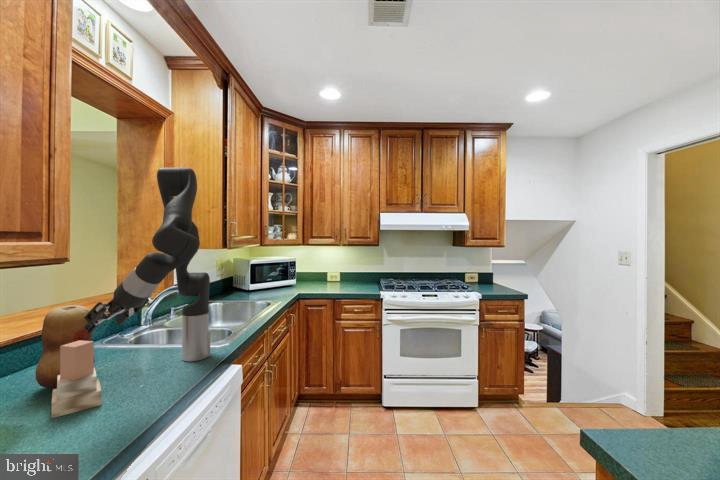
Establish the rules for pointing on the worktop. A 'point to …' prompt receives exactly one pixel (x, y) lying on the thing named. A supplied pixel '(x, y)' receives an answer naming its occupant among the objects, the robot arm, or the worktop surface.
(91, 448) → the worktop surface
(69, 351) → the salmon pink rectangular block
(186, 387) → the worktop surface
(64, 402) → the beige stepped block
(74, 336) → the butternut squash
